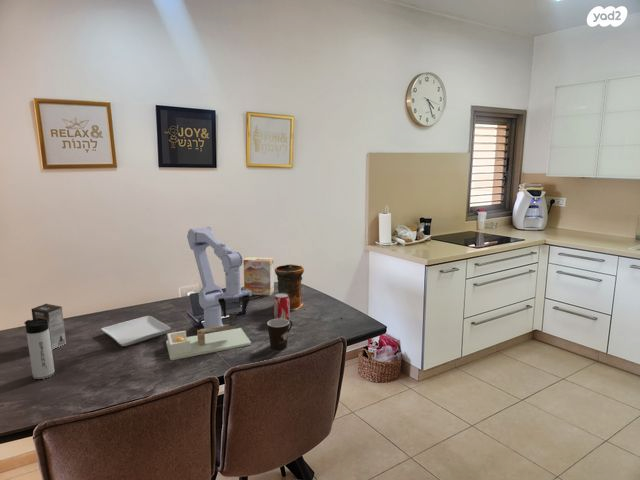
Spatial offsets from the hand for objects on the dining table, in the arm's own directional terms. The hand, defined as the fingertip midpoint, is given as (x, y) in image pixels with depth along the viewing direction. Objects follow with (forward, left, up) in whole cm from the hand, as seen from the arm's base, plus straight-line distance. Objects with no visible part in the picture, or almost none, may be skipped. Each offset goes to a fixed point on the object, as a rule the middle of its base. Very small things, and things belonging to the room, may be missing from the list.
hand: (234, 314), depth 169 cm
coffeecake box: (-52, +26, -11) cm, 60 cm away
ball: (+1, -22, -7) cm, 23 cm away
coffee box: (-24, -68, -11) cm, 73 cm away
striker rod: (+1, -7, -9) cm, 11 cm away
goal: (+1, -22, -9) cm, 24 cm away
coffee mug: (+15, +15, -11) cm, 24 cm away
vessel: (-26, +34, -11) cm, 45 cm away
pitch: (+1, -11, -10) cm, 15 cm away
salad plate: (-21, -37, -11) cm, 44 cm away
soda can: (-10, +24, -11) cm, 28 cm away
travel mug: (+2, -67, -11) cm, 68 cm away
